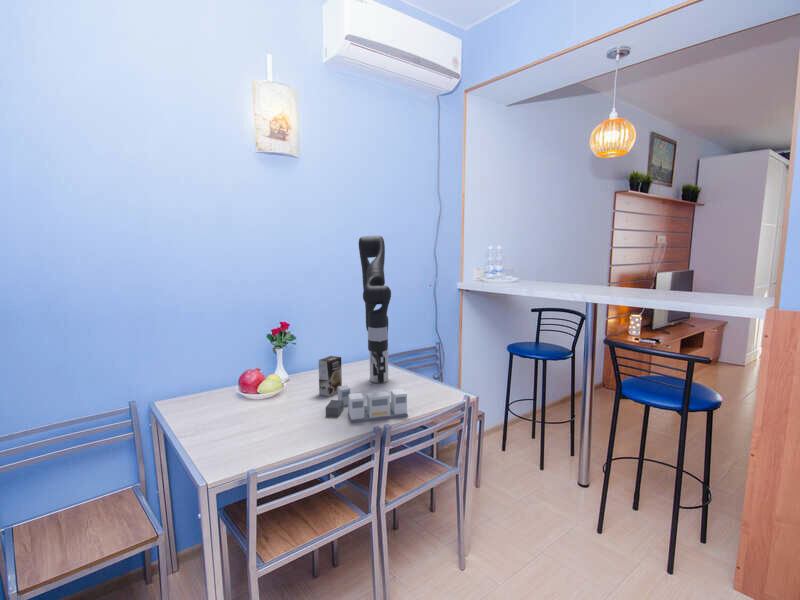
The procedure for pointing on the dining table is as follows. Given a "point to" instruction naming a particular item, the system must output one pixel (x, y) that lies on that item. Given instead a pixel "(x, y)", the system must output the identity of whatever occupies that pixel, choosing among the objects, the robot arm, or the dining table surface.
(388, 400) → the loose module
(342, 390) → the block
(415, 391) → the dining table surface
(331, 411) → the block
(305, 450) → the dining table surface
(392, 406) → the rail mount
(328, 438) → the dining table surface
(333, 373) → the coffee box
